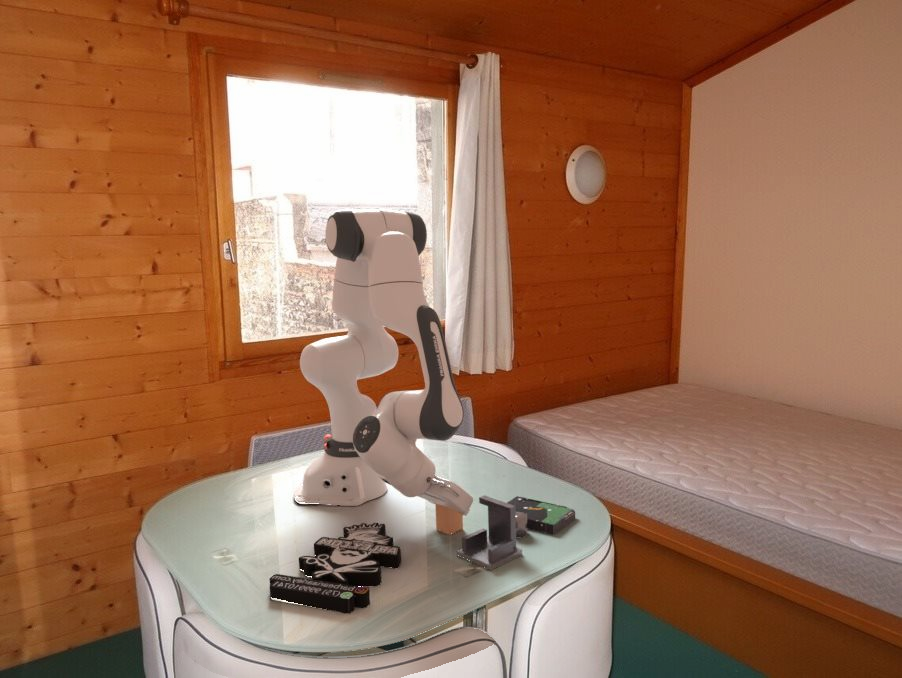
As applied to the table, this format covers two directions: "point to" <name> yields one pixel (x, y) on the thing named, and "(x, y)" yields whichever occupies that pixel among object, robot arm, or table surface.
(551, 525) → the disk drive
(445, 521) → the orange tall block
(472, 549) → the keeper
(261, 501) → the table surface
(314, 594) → the sign
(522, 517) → the link stub
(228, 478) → the table surface
